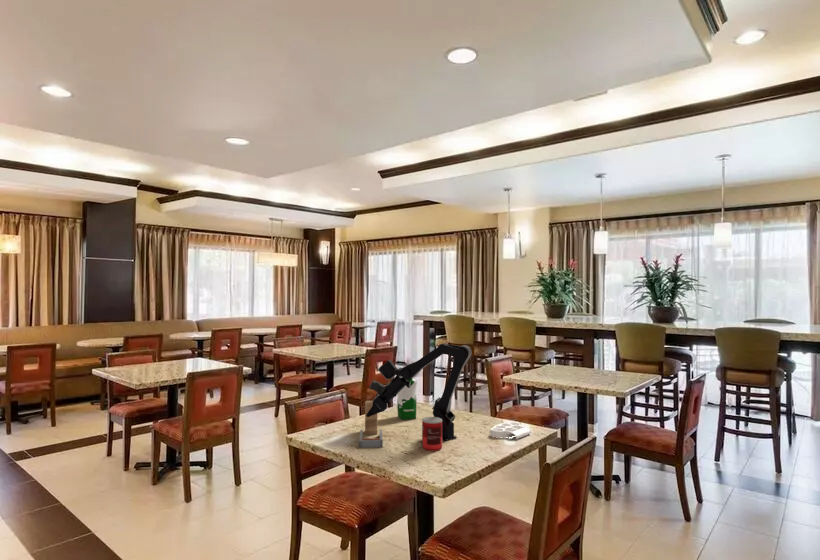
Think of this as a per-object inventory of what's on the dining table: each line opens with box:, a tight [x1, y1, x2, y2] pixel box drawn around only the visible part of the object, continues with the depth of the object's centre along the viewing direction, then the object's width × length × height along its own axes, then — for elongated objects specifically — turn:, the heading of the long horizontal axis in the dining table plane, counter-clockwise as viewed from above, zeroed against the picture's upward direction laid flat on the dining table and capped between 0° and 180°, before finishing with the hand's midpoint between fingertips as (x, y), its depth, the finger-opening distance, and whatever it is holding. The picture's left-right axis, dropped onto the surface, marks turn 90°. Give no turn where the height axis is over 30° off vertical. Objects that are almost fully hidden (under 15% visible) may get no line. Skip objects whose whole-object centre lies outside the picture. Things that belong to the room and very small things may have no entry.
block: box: [364, 400, 378, 435], centre depth 206 cm, size 5×5×13 cm
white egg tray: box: [489, 421, 532, 440], centre depth 205 cm, size 3×18×15 cm
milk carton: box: [396, 378, 418, 421], centre depth 232 cm, size 9×9×20 cm
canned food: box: [421, 416, 443, 452], centre depth 186 cm, size 8×8×11 cm
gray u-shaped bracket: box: [358, 429, 384, 448], centre depth 194 cm, size 15×9×2 cm, turn 4°
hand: (368, 413), depth 206 cm, fingers open, 9 cm apart
